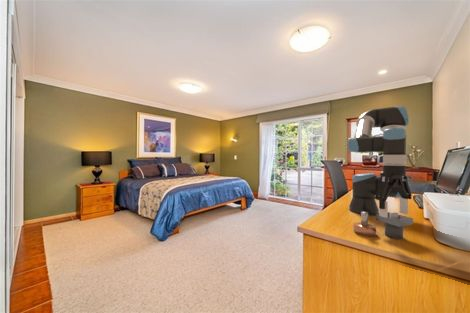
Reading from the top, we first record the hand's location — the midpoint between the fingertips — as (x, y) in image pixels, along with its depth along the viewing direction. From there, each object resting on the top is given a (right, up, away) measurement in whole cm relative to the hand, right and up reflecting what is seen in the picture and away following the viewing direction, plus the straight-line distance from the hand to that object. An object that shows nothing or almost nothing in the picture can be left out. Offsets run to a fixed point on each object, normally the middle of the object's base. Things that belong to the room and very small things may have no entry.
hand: (393, 215), depth 81 cm
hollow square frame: (0, -3, 0) cm, 3 cm away
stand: (0, -9, 0) cm, 9 cm away
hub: (-10, -9, +4) cm, 14 cm away
